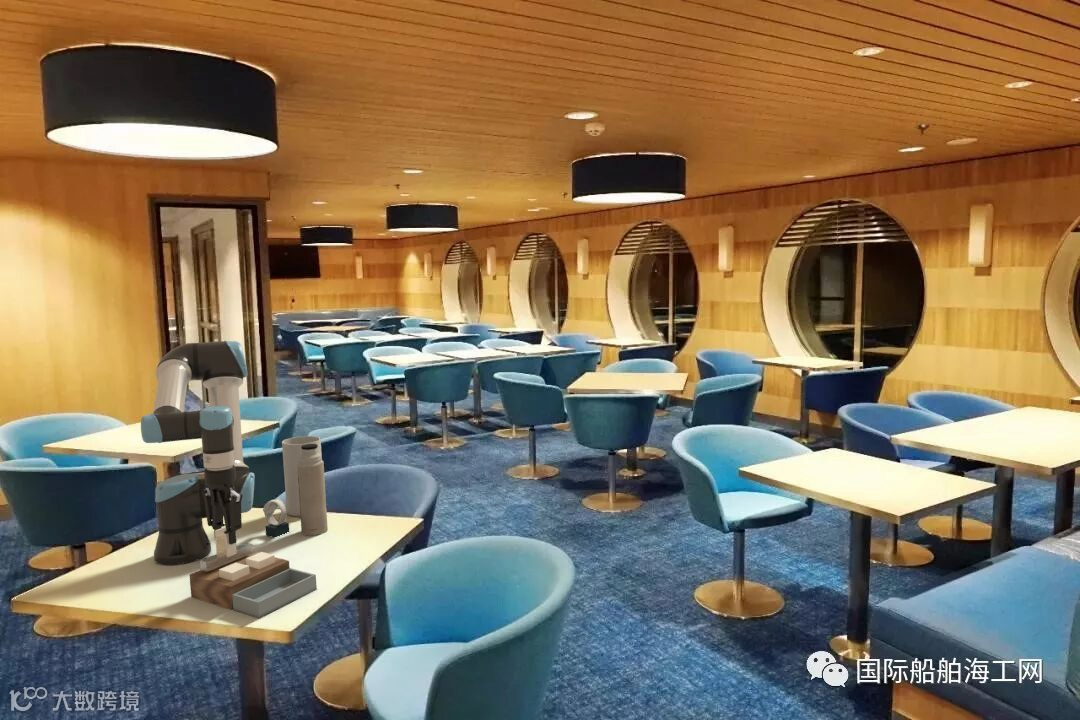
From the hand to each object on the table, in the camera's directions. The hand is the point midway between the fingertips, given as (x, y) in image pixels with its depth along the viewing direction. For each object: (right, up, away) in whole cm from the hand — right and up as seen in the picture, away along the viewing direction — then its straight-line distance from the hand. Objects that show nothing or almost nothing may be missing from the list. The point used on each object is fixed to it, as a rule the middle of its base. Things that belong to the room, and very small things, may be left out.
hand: (226, 553), depth 195 cm
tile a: (+5, -4, -7) cm, 9 cm away
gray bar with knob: (0, -2, 0) cm, 2 cm away
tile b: (+9, -3, 0) cm, 9 cm away
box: (+16, -9, -8) cm, 20 cm away
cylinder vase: (+2, -1, +61) cm, 61 cm away
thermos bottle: (+11, -4, +41) cm, 42 cm away
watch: (-1, -4, +39) cm, 40 cm away
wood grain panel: (+5, -9, -1) cm, 10 cm away
